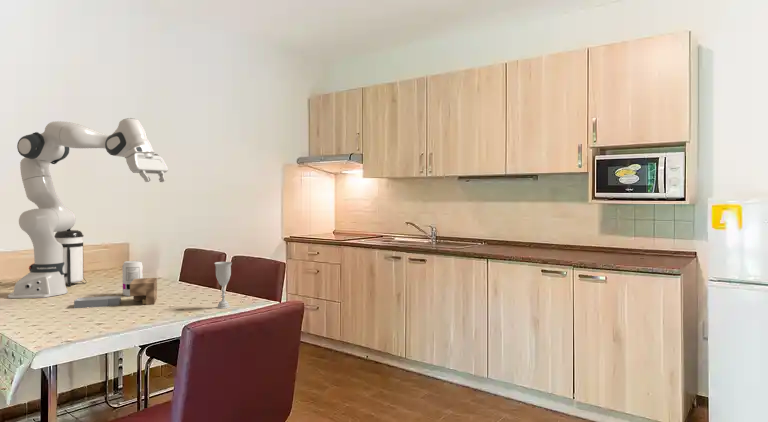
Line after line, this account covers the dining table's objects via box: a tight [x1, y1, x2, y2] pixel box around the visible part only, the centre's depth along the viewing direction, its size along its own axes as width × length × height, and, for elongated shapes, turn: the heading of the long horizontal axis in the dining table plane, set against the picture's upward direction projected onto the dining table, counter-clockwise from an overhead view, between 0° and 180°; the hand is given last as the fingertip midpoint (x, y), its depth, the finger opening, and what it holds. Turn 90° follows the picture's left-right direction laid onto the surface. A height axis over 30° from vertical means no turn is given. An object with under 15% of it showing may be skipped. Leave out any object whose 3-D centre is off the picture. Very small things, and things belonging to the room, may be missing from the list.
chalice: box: [214, 261, 233, 309], centre depth 213 cm, size 7×7×18 cm
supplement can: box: [122, 260, 144, 297], centre depth 239 cm, size 8×8×15 cm
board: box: [73, 295, 122, 309], centre depth 216 cm, size 16×7×3 cm, turn 109°
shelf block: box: [129, 277, 158, 306], centre depth 223 cm, size 9×14×9 cm, turn 19°
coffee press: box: [54, 228, 87, 288], centre depth 263 cm, size 17×16×30 cm
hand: (155, 181), depth 226 cm, fingers open, 8 cm apart
